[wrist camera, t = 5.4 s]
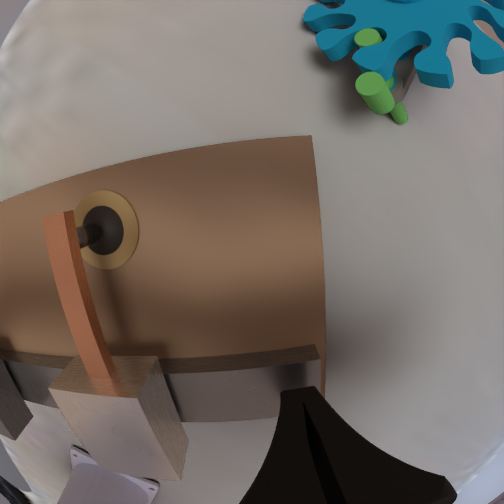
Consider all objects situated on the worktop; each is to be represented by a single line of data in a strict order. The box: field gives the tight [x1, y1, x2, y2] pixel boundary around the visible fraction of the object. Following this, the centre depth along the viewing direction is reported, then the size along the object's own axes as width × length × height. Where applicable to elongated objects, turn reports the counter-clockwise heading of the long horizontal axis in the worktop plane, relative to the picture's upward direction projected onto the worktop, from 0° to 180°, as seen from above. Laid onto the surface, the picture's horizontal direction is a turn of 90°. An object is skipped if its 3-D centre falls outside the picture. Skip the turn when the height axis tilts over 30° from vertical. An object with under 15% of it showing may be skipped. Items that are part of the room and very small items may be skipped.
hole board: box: [0, 135, 326, 399], centre depth 12 cm, size 12×22×2 cm, turn 97°
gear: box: [303, 0, 504, 124], centre depth 8 cm, size 11×6×10 cm
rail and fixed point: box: [0, 344, 321, 440], centre depth 9 cm, size 11×21×4 cm, turn 97°
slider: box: [42, 210, 189, 481], centre depth 9 cm, size 11×4×4 cm, turn 7°
